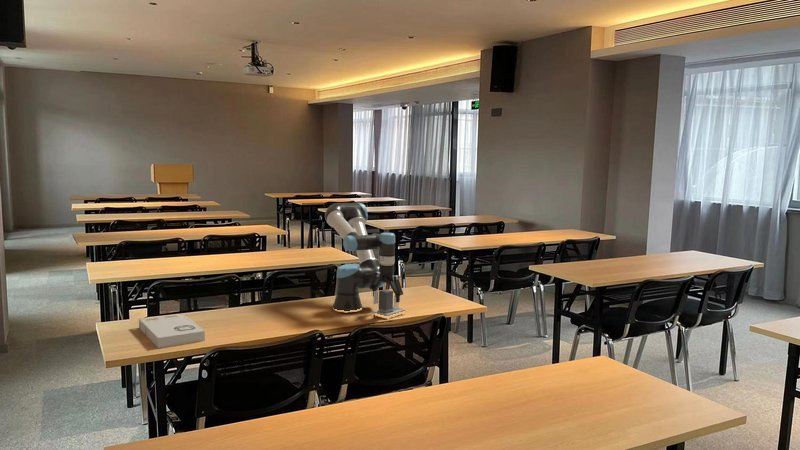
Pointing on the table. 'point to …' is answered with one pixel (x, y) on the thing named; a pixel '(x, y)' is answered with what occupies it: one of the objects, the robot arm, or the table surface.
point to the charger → (385, 301)
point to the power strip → (391, 312)
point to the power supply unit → (171, 330)
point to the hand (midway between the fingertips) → (385, 306)
